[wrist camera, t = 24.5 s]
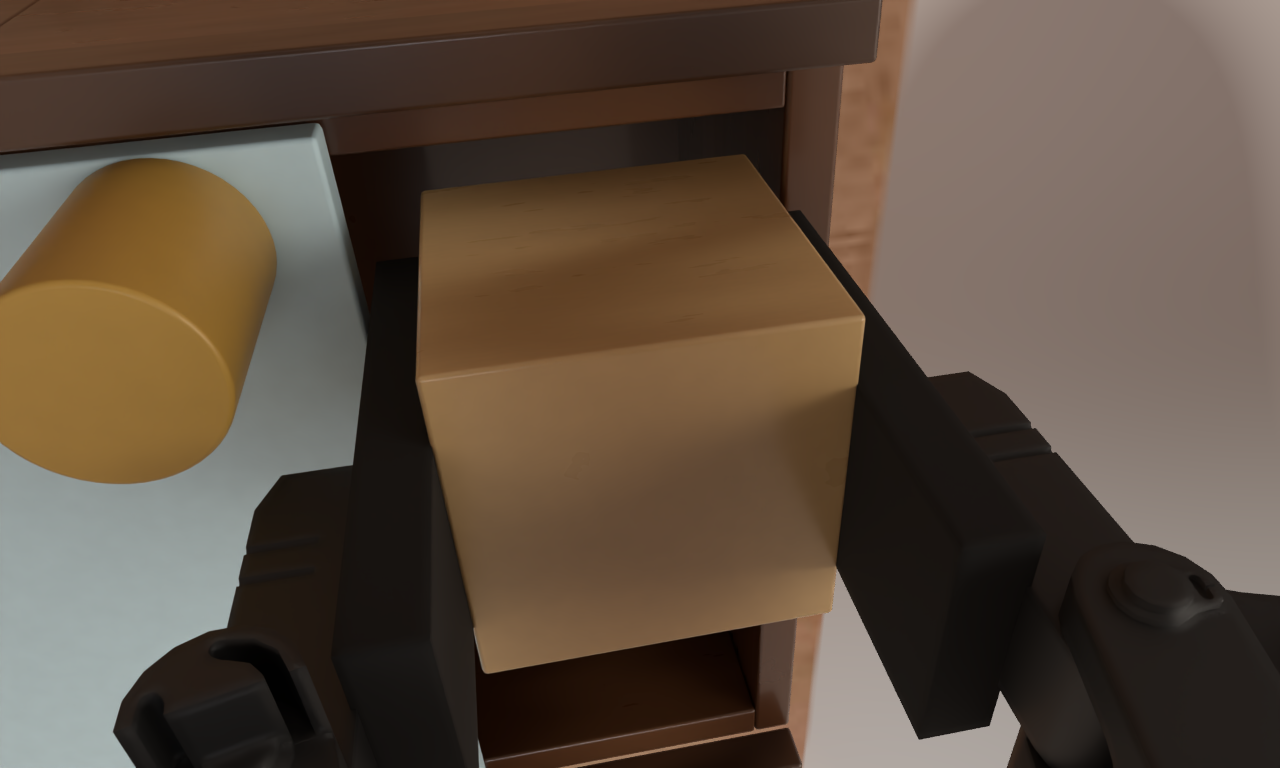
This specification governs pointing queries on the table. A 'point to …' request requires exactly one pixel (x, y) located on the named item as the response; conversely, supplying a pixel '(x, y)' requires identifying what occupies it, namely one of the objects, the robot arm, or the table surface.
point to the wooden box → (480, 154)
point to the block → (633, 405)
